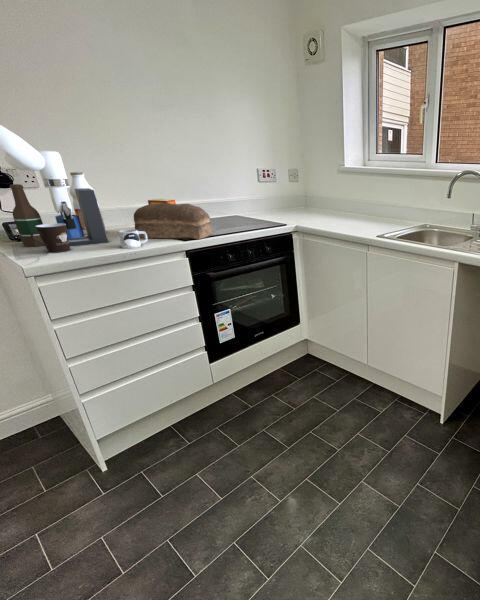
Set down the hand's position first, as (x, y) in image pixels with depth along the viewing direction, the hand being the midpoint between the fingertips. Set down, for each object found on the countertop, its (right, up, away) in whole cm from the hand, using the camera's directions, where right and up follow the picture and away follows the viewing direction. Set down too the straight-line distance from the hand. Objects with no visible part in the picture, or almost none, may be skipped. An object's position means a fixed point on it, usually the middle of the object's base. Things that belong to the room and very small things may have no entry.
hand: (70, 227), depth 148 cm
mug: (+27, -8, +2) cm, 28 cm away
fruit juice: (-9, +1, +22) cm, 24 cm away
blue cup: (0, -4, +2) cm, 4 cm away
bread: (+31, 0, +22) cm, 38 cm away
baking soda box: (+19, +5, +33) cm, 39 cm away
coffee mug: (+5, -12, -11) cm, 17 cm away
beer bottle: (-11, -8, -3) cm, 14 cm away
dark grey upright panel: (+1, -6, +4) cm, 7 cm away
